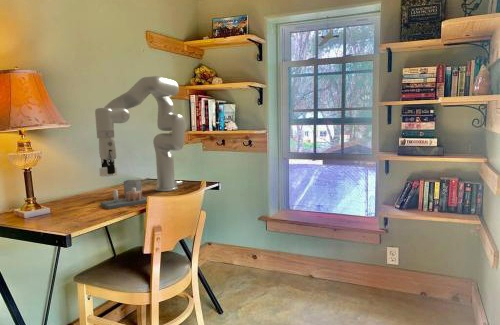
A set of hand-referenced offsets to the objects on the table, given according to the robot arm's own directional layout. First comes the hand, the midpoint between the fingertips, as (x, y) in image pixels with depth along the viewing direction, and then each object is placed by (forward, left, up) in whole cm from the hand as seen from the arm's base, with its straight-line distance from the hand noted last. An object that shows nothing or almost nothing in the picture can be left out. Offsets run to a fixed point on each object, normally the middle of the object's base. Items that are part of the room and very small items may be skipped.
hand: (108, 172), depth 177 cm
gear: (0, 0, -1) cm, 1 cm away
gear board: (-6, +3, -16) cm, 17 cm away
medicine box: (-15, -9, -16) cm, 24 cm away
